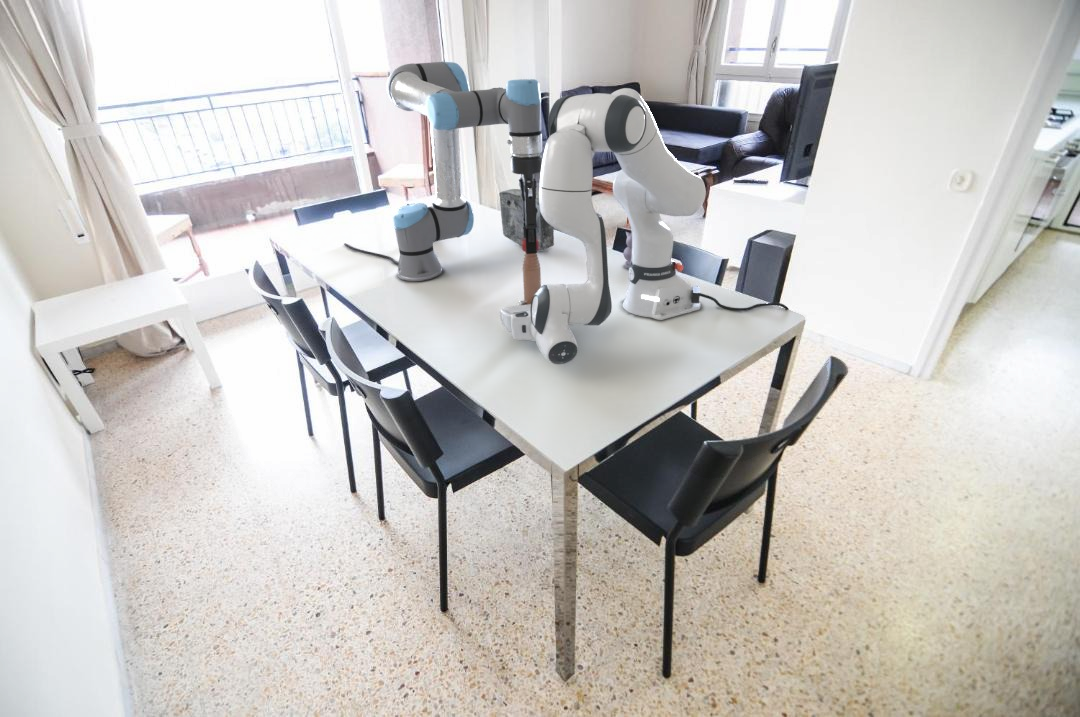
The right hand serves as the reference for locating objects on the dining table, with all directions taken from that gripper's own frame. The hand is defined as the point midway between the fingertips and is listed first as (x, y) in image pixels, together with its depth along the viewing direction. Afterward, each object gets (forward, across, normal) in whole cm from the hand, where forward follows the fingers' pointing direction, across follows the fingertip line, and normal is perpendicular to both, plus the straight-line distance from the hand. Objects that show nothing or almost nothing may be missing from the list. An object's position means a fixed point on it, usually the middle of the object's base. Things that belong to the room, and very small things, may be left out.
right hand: (532, 301), depth 138 cm
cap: (-1, 0, -15) cm, 15 cm away
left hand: (-1, 0, -15) cm, 15 cm away
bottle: (-1, 0, +6) cm, 7 cm away
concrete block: (+64, -15, +6) cm, 66 cm away
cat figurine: (+30, -44, +6) cm, 54 cm away
